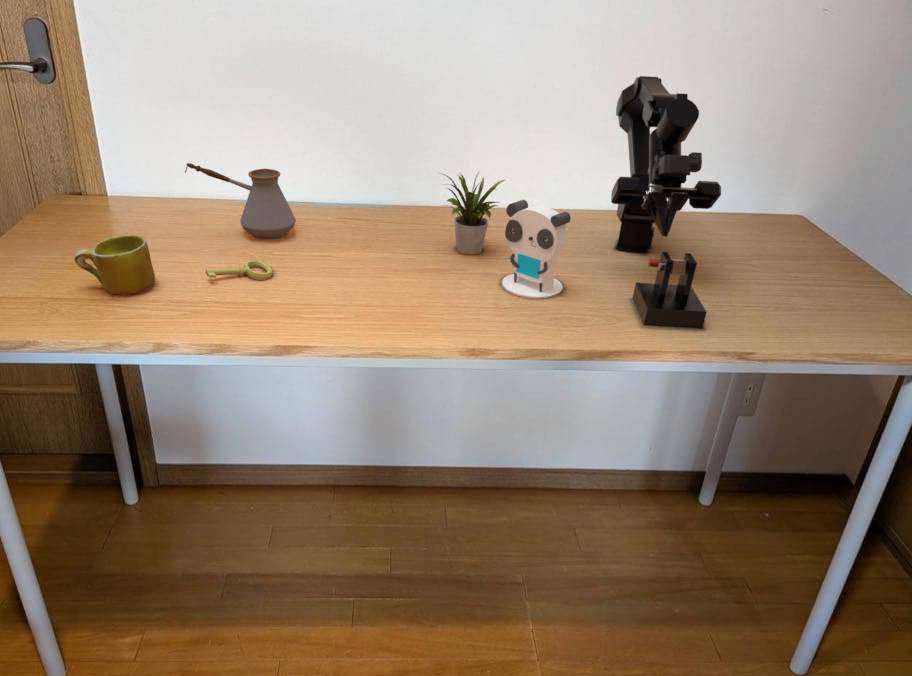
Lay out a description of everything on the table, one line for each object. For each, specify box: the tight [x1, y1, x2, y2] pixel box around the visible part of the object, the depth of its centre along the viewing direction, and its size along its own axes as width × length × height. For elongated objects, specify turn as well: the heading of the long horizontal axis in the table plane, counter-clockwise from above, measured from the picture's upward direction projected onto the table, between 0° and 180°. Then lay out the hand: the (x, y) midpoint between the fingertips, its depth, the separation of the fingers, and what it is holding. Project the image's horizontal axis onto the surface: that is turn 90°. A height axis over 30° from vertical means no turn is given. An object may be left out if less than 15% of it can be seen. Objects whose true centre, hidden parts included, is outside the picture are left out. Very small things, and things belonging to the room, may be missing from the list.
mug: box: [73, 234, 156, 296], centre depth 132 cm, size 12×10×10 cm
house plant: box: [439, 169, 506, 255], centre depth 151 cm, size 14×14×16 cm
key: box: [205, 260, 273, 281], centre depth 139 cm, size 7×12×2 cm, turn 135°
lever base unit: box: [632, 251, 707, 330], centre depth 130 cm, size 11×10×11 cm
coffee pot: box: [184, 162, 297, 241], centre depth 154 cm, size 21×12×15 cm, turn 99°
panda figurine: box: [501, 199, 572, 299], centre depth 137 cm, size 12×11×15 cm
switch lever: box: [647, 258, 687, 276], centre depth 131 cm, size 10×6×2 cm, turn 177°
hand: (665, 235), depth 136 cm, fingers closed
